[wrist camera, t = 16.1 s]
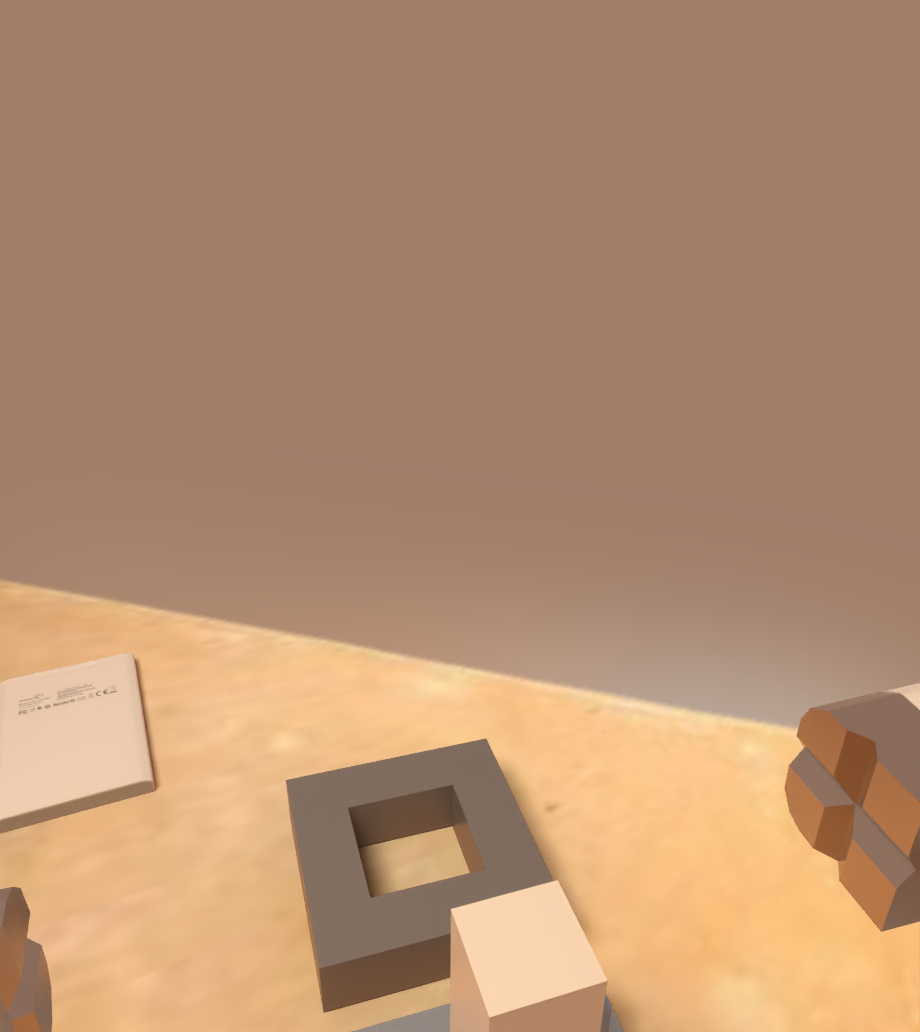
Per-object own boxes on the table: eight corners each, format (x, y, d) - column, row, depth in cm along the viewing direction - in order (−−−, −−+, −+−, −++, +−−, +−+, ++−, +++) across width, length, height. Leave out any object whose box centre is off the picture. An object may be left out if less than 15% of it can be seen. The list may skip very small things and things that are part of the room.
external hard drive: (-4, 844, 47) (3, 699, 57) (157, 799, 49) (137, 668, 59) (-12, 822, 46) (-3, 679, 56) (152, 777, 49) (133, 648, 59)
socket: (323, 1012, 38) (319, 968, 37) (290, 821, 47) (286, 780, 46) (559, 946, 41) (563, 903, 39) (484, 778, 50) (486, 738, 49)
